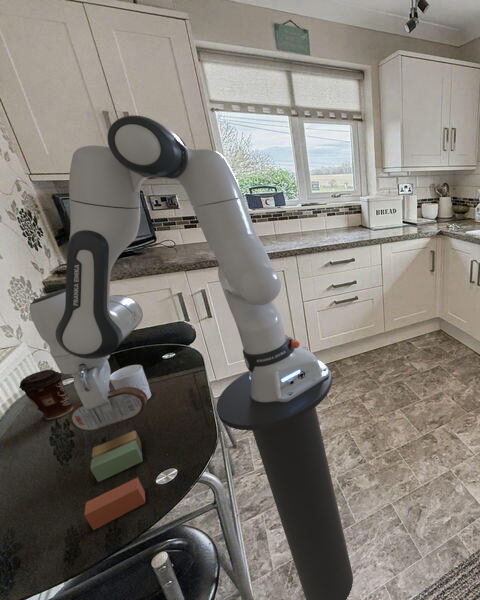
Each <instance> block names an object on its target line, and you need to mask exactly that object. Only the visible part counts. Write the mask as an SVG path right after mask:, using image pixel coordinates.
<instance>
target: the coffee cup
mask: <svg viewBox="0 0 480 600" xmlns="http://www.w3.org/2000/svg"><path fill="white" fill-rule="evenodd" d="M62 377H63V374H62V373H61V372H59V371H56V370H54V369H45V370H40V371H36V372H34V373H31V374H29V375H27V376H26V377H24V378H22V379H21V380H20V382H19V386H18V388H19V389H20V390H21V391H22V392H24V393H25V396H26V397H27V398H28V399H29V401H30V402H31V403H32V404H33V406H34V407H35V408H36V410H38V411H39V412H41V413H42V414H43V418H44V419H45V420H53V419H58V418H61V417H63V416H65V415H67V414H68V413H70V412H71V411H72V408H73V407H74V404H73V403H72V402H71V399H70V397H69V395H68V393H67V390H66V388H65V384H64V383H63V380H62Z"/></svg>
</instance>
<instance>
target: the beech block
mask: <svg viewBox="0 0 480 600" xmlns="http://www.w3.org/2000/svg"><path fill="white" fill-rule="evenodd" d="M135 440H136V442H137V444H138V446H139V448H140V450H141V452H142V451H143V449H142V447H143V445H142V441H141V439H140V437H139V435H138V432H137V431H136V430H132V431H130V432H128V433H125V434H123V435H121V436H119V437H115V438H113V439H111V440H109V441H105V442H104V443H102V444H98V445H96V446H94V447H92V453H91V459H93V458H96V457H98V456H100V455H103V454H105V453H107V452H110V451H112V450H114V449H116V448H119V447H121V446H123V445H126V444H128V443H130V442H133V441H135Z"/></svg>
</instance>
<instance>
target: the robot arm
mask: <svg viewBox="0 0 480 600" xmlns="http://www.w3.org/2000/svg"><path fill="white" fill-rule="evenodd" d="M107 145H108V146H104V145H96V144H95V145H85V146H81V147H79V148H77V149H76V150H74V152H73V153H72V157H71V161H70V169H69V179H68V197H69V213H70V228H69V229H70V231H69V233H70V234H69V240H68V245H67V246H68V247H67V254H66V266H65V267H66V268H65V269H66V270H65V288H63V289H58V290H56V291H53V292H50V293H48V294H45V295H42V296H40V297H38V298H36V299H34V300H33V301H31V303H30V304H29V309H28V310H29V314H30V317H31V320H32V322H33V325H34V327H35V329H36V331H37V333H38V335H39V336H40V338H41V339H42V340H43V341H44V343H47V345H48V347H49V352H50V355H51V358H52V359H53V361H54V362H55V364H56V367H57V368H58V370H59V371H60V373H61V374H62V375H71V377H73V378H74V379H73V386H74V388H75V391H76V393H77V396H78V397H79V399H80V400H81V402H82V404H83V406H84V407H85V409H87V410H88V411H90V410H93V409H96V408H99V407H101V409H102V411H103V412H107V411H109V410H111V409H112V404H111V402H110V401H109V400H108V392H109V391H111V388H110V383H111V382H110V375H111V366H110V362H109V358H111V355H112V354H113V353H114V352H115V351H116V350H117V348H118V347H119V346H120V345H121V343H122V342H123V341H124V340H125V339H126V338H127V337H128V336H130V334H131V333H132V332H133V331H134V330H135V329H136V328H137V327H138V326H139V325H140V323H142V320H143V317H144V315H143V310H142V307H141V306H140V305H139V304H138V302H137V301H135V300H134V299H132V298H131V297H129V296H126V295H122V294H121V295H120V294H112V295H111V294H110V291H111V273H112V269H113V267H114V265H115V262H116V261H117V260H118V258H119V257H120V255H122V253H123V252H124V251H125V250H126V249H127V248H128V247H129V246H130V245H131V244H132V243H133V242H134V241H135V239H136V238H137V237H138V233H139V228H140V226H141V225H140V224H141V197H140V195H141V187H142V184H143V183H144V182H145V181H146V180H153V179H171V180H175V181H177V182H179V184H180V185H181V186H182V187H183V189H184V191H185V193H186V195H187V197H188V199H189V202H190V205H191V207H192V209H193V212H194V214H195V216H196V219H197V221H198V223H199V226H200V229H201V231H202V234H203V236H204V238H205V240H206V242H207V244H208V246H209V248H210V249H211V251H212V253H213V255H214V257H215V259H216V262H217V263H218V269H217V276H218V280H219V283H220V287H221V288H222V292H223V294H224V297H225V300H226V303H227V305H228V308H229V310H230V313H231V315H232V318H233V319H234V322H235V325H236V328H237V331H238V334H239V339H240V342H241V345H242V348H243V349H242V353H243V354H242V355H243V360H244V364H245V366H246V369H247V370H248V372H249V373H250V381H251V393H250V395H251V397H252V399H254V400H255V401H258V402H274V401H279V402H288V401H290V400H292V399H293V398H295V397H296V396H298V395H300V394H301V393H303V392H304V391H306V390H308V389H309V388H311V387H312V386H314V385H316V384H317V383H319V382H321V381H322V380H324V379H325V378H327V377H328V376H329V371H328V368H329V367H328V366H327V365H326V364H325V363H324V362H322V361H321V360H319V359H318V358H317V357H316V356H315V354H314V353H313V352H311V350H309V348H308V347H307V346H303V347H300V344H301V343H300V342H299V341H298V340H297V339H294V338H292V337H291V336H288V335H286V333H285V330H284V326H283V321H282V318H281V314H280V311H279V310H278V308H277V306H276V304H275V302H274V300H276V298H277V297H278V296H279V294H280V292H281V288H282V282H281V279H280V276H279V273H277V271H276V269H275V268H274V265H273V263H272V261H271V259H270V257H269V255H268V252H267V250H266V248H265V247H264V244H263V242H262V241H261V239H260V237H259V235H258V233H257V230H256V229H255V225H254V223H253V220H252V217H251V215H250V212H249V209H248V206H247V204H246V200H245V198H244V195H243V192H242V190H241V187H240V185H239V182H238V180H237V178H236V176H235V174H234V172H233V170H232V168H231V166H230V164H229V163H228V161H227V159H226V158H225V156H224V155H222V154H221V153H220V152H218V151H216V150H213V149H209V148H208V149H207V148H199V149H198V148H197V149H192V148H188V147H187V144H186V143H185V141H184V140H183V139H182V138H181V137H180V136H179V135H178V134H177V133H175V132H174V131H173V130H172V129H171V128H170V127H168V126H167V125H165V124H163V123H161V122H159V121H157V120H154V119H151V118H150V117H147V116H143V115H137V114H135V115H125V116H122V117H119V118H118V119H116V120H115V121H113V122H112V124H111V125H110V127H109V129H108V132H107ZM326 366H327V367H328V368H327V367H326ZM80 400H79V401H80Z"/></svg>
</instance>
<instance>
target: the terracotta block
mask: <svg viewBox="0 0 480 600" xmlns="http://www.w3.org/2000/svg"><path fill="white" fill-rule="evenodd" d="M144 504H146V491H145V489H144V487H143V486H142V483H141V481H140V479H139V477H135V478H133V479H131V480H129V481H127V482H125V483H123V484H121V485H119V486H117V487H115V488H113V489H110V490H109V491H107V492H104V493H102V494H101V495H98V496H96V497H94V498H92V499H90V500H88V501H86V502H85V507H84V515H83V516H84V518H85V519H86V522H88V524H89V525H90V527H91V529H92V531H96V530H97V529H99V528H101V527H103V526H105V525H107V524H108V523H110V522H112V521H114V520H116V519H118V518H120V517H121V516H123V515H125V514H127V513H129V512H131V511H133V510H135V509H137V508H139V507H140V506H143V505H144Z"/></svg>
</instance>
